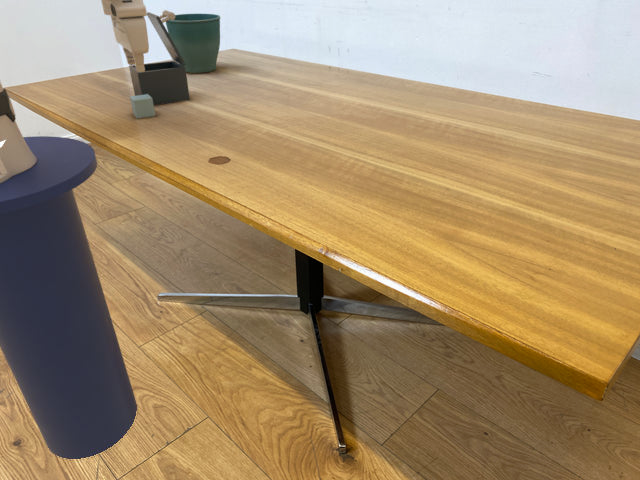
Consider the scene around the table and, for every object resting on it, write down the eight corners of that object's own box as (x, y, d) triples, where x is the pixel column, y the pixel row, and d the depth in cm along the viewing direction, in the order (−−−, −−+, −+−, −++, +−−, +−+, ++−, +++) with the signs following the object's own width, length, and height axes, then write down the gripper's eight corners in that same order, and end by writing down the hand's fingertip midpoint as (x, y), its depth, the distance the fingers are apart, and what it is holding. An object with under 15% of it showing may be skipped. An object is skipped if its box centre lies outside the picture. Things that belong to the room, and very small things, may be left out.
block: (137, 118, 121) (133, 100, 118) (133, 114, 124) (129, 96, 122) (155, 115, 122) (152, 98, 120) (151, 111, 126) (147, 94, 123)
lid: (156, 17, 122) (173, 7, 123) (145, 13, 129) (162, 4, 130) (183, 66, 130) (199, 56, 131) (172, 59, 138) (187, 50, 139)
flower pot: (227, 74, 162) (221, 19, 154) (171, 77, 159) (162, 21, 150) (224, 63, 177) (218, 12, 169) (173, 66, 174) (165, 14, 165)
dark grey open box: (144, 106, 130) (137, 72, 125) (135, 97, 137) (128, 65, 133) (190, 100, 135) (185, 67, 130) (179, 91, 143) (174, 60, 138)
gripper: (100, 2, 117) (114, 62, 124) (117, 10, 101) (131, 77, 109) (127, 0, 119) (139, 59, 127) (147, 7, 104) (160, 74, 111)
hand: (136, 67), depth 118 cm, fingers open, 8 cm apart
